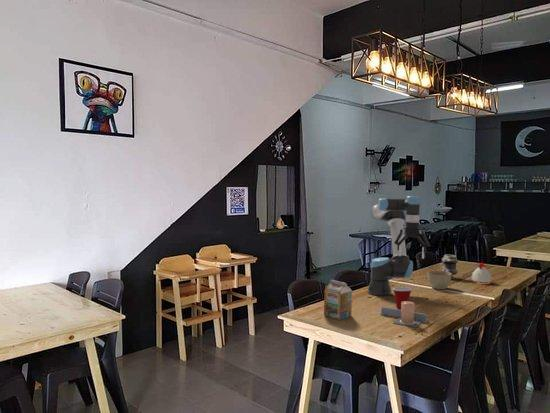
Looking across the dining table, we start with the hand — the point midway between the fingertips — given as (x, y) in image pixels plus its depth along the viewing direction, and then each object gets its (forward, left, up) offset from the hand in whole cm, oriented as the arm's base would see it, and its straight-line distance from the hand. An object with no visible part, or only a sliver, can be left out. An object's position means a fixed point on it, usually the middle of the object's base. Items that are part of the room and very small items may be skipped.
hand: (411, 257), depth 256 cm
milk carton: (-27, -46, -29) cm, 61 cm away
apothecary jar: (+6, +94, -29) cm, 99 cm away
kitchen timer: (+29, +93, -29) cm, 102 cm away
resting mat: (+8, -36, -29) cm, 47 cm away
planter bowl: (+6, +55, -29) cm, 62 cm away
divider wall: (+4, -29, -29) cm, 41 cm away
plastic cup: (-2, -11, -29) cm, 31 cm away
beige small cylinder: (+8, -36, -28) cm, 46 cm away
